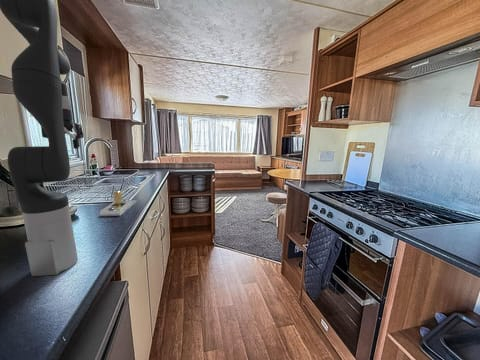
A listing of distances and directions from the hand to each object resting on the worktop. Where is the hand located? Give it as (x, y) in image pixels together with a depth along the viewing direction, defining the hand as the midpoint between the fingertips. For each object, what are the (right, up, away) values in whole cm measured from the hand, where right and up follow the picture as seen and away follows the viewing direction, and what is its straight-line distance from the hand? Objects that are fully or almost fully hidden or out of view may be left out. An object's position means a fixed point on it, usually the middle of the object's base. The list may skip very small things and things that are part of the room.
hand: (65, 148), depth 87 cm
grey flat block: (+14, -28, +16) cm, 35 cm away
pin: (+14, -28, +16) cm, 35 cm away
